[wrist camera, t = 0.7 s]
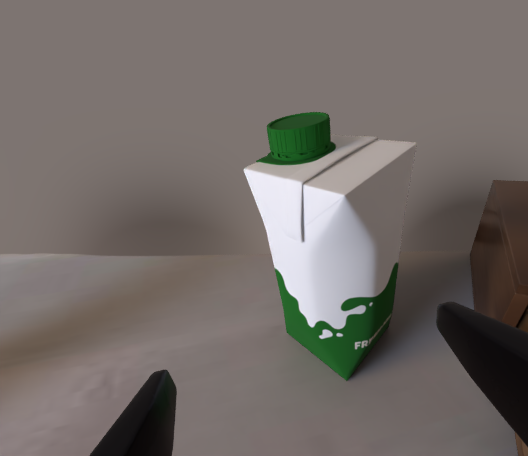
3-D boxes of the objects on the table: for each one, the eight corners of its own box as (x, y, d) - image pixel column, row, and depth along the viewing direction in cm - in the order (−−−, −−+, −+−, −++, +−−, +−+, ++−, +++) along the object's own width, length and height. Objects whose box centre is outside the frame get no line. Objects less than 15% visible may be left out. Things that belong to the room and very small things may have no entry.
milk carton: (326, 283, 32) (312, 103, 21) (404, 327, 25) (442, 100, 14) (273, 333, 27) (221, 139, 16) (351, 400, 21) (350, 157, 10)
